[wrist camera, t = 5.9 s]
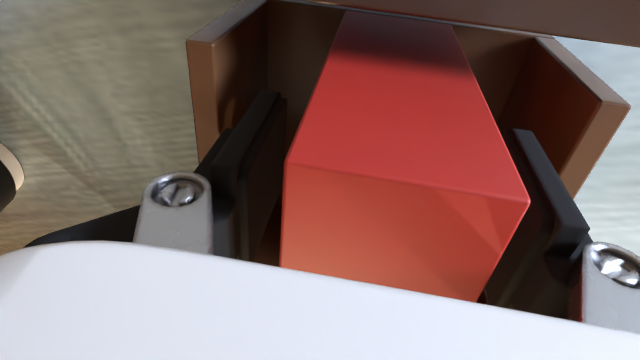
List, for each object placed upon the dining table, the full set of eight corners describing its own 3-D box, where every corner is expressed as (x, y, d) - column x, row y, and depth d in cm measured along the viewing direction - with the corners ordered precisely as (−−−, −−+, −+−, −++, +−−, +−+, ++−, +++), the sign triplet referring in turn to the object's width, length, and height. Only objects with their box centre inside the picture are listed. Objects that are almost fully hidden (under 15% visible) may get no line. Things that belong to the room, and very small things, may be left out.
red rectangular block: (345, 9, 15) (283, 160, 6) (451, 24, 14) (534, 201, 6) (330, 126, 18) (275, 333, 9) (418, 140, 17) (443, 365, 9)
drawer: (229, -262, 12) (78, -408, 6) (684, -218, 11) (997, -340, 5) (243, 195, 22) (192, 296, 17) (473, 235, 22) (502, 355, 16)
